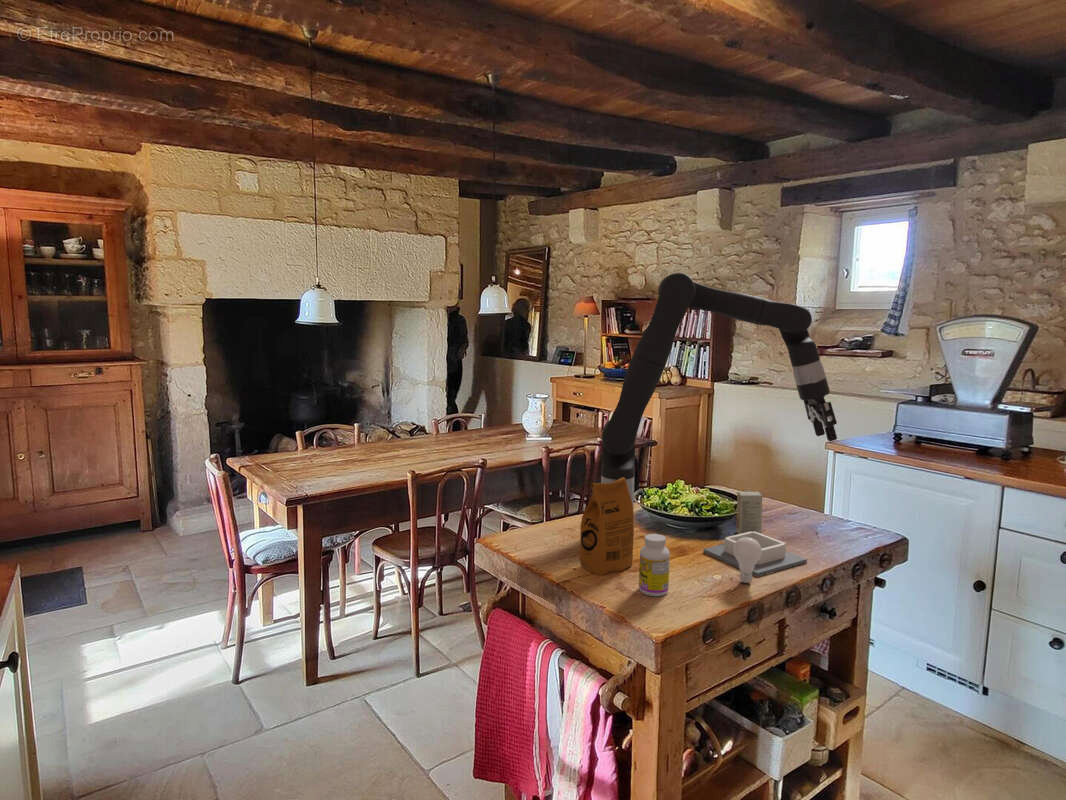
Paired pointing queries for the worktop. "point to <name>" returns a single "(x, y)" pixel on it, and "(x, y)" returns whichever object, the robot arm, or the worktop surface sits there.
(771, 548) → the holder
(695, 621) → the worktop surface
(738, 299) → the robot arm
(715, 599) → the worktop surface
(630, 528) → the coffee package
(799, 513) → the worktop surface
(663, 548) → the supplement bottle
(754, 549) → the lightbulb
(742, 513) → the skincare box
